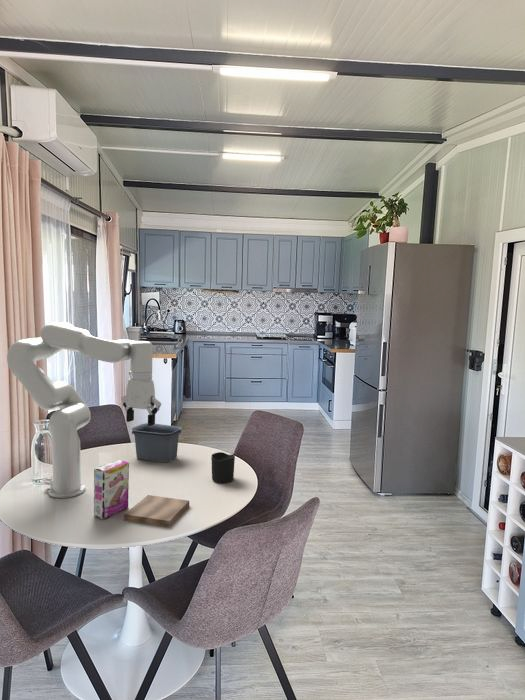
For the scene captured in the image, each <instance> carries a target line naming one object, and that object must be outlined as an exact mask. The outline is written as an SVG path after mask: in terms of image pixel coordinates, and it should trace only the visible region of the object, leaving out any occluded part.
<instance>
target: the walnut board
mask: <svg viewBox="0 0 525 700" xmlns="http://www.w3.org/2000/svg"><path fill="white" fill-rule="evenodd" d="M189 507H190V500H187V499H180V498H171V497H166V496H157V495H150V494H147V495H146V496H145V497H143V499H141V500H140V501H139V502H137V503H136V504H135V505H133V507H131V508H130V509H128V510H127V511H126V512H125V513H124V515H123V519H124V521H129V522H134V523H142V524H147V525H148V524H149V525H154V526H155V525H156V526H160V527H166V528H170V527H171V526H172V525H173V524H174V523H175V522H176V521H177V520H178V518H179V517H181V516H182V515H183V514H184V512H185V511H186V510H187V509H188V508H189Z"/></svg>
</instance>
